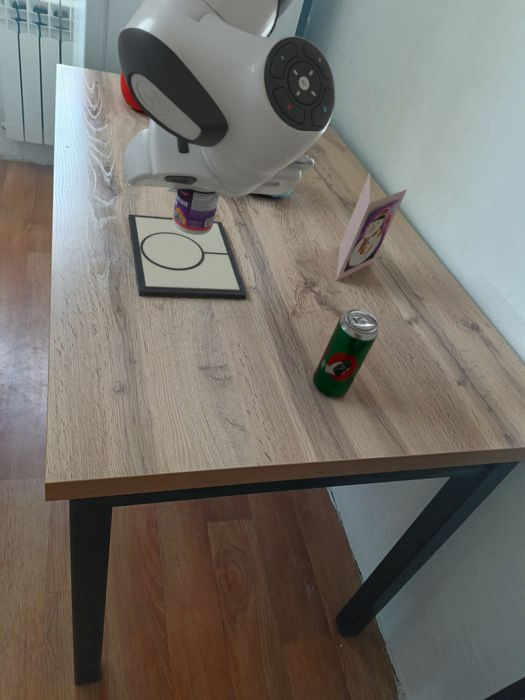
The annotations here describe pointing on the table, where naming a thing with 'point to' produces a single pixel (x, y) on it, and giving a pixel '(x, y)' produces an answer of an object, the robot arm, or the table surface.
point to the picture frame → (183, 260)
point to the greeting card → (366, 230)
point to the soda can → (345, 352)
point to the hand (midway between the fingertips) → (197, 187)
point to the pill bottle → (195, 210)
